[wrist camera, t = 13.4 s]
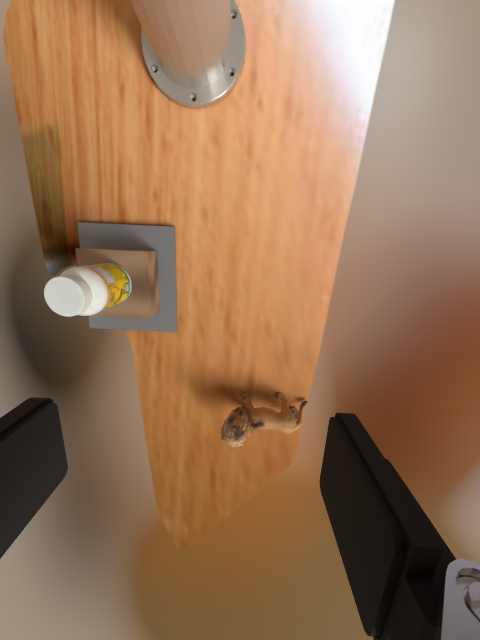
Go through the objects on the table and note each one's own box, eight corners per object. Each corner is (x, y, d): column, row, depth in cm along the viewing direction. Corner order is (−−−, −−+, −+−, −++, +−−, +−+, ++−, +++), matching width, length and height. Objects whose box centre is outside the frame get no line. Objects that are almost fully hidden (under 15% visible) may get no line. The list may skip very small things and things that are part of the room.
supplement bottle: (110, 254, 33) (57, 256, 24) (141, 284, 34) (102, 297, 25) (85, 282, 34) (25, 295, 25) (116, 311, 35) (69, 333, 26)
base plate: (80, 222, 38) (77, 222, 37) (175, 227, 37) (173, 226, 37) (92, 326, 42) (89, 327, 41) (177, 330, 42) (176, 332, 41)
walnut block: (96, 248, 38) (75, 248, 33) (157, 251, 38) (144, 251, 33) (102, 307, 40) (83, 315, 35) (159, 310, 40) (148, 318, 35)
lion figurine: (226, 419, 46) (222, 459, 38) (222, 393, 45) (216, 428, 36) (307, 411, 46) (322, 450, 37) (305, 385, 44) (320, 418, 35)
